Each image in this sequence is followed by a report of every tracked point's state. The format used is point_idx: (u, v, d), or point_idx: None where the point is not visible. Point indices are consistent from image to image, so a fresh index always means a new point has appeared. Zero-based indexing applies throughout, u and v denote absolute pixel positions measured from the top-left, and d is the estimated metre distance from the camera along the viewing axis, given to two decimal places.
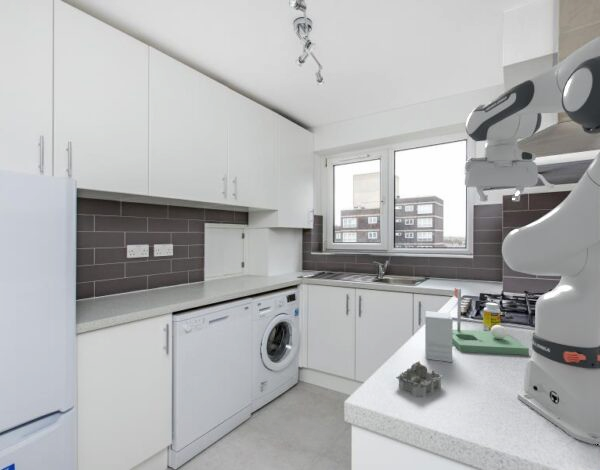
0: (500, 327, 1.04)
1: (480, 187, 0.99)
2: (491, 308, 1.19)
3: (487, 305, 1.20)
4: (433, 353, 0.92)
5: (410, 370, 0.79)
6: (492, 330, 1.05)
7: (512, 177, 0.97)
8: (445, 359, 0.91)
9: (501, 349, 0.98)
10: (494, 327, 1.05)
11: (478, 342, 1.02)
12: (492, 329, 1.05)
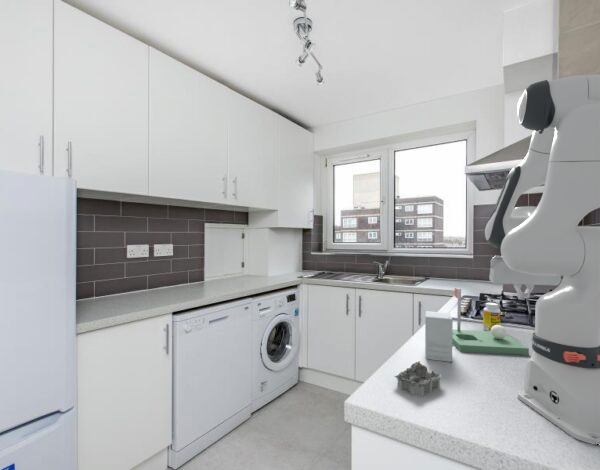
0: (500, 327, 1.04)
1: (518, 285, 1.03)
2: (491, 308, 1.19)
3: (487, 305, 1.20)
4: (433, 353, 0.92)
5: (409, 369, 0.80)
6: (492, 330, 1.05)
7: (536, 277, 1.02)
8: (445, 359, 0.91)
9: (501, 349, 0.98)
10: (494, 327, 1.05)
11: (478, 342, 1.02)
12: (492, 329, 1.05)
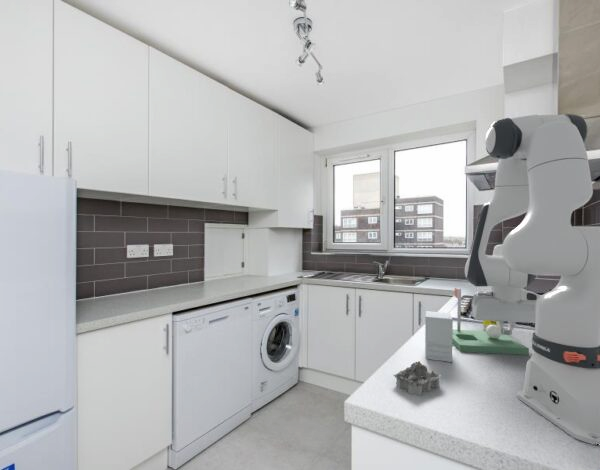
0: (491, 328, 1.04)
1: (500, 322, 1.04)
2: None
3: None
4: (433, 353, 0.92)
5: (409, 369, 0.80)
6: (487, 334, 1.05)
7: (518, 315, 1.03)
8: (445, 359, 0.91)
9: (501, 349, 0.98)
10: (487, 330, 1.05)
11: (478, 342, 1.02)
12: (487, 333, 1.05)
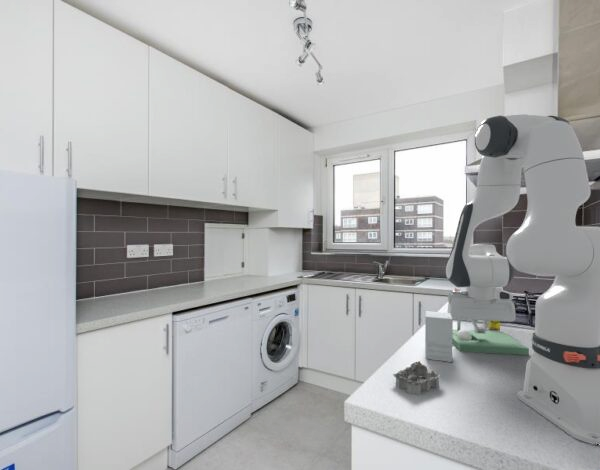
0: (470, 335, 1.05)
1: (474, 320, 1.05)
2: None
3: None
4: (433, 353, 0.92)
5: (409, 369, 0.80)
6: (463, 330, 1.06)
7: (491, 313, 1.04)
8: (445, 359, 0.91)
9: (501, 349, 0.98)
10: None
11: (478, 342, 1.02)
12: (464, 330, 1.06)
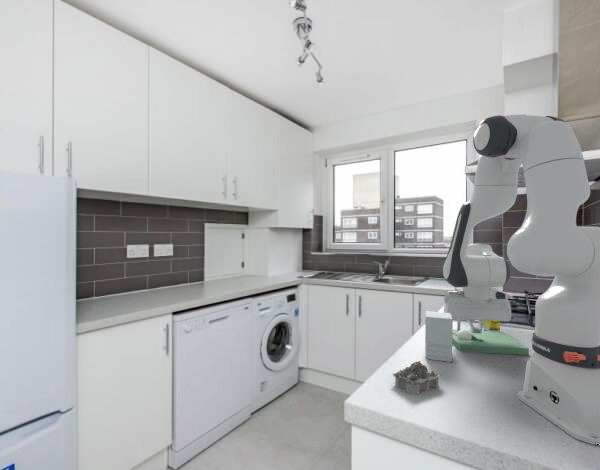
0: (471, 335, 1.05)
1: (470, 320, 1.05)
2: None
3: None
4: (433, 353, 0.92)
5: (409, 368, 0.80)
6: (464, 330, 1.06)
7: (487, 313, 1.04)
8: (445, 359, 0.91)
9: (501, 349, 0.98)
10: (467, 331, 1.06)
11: (478, 342, 1.02)
12: (464, 330, 1.06)
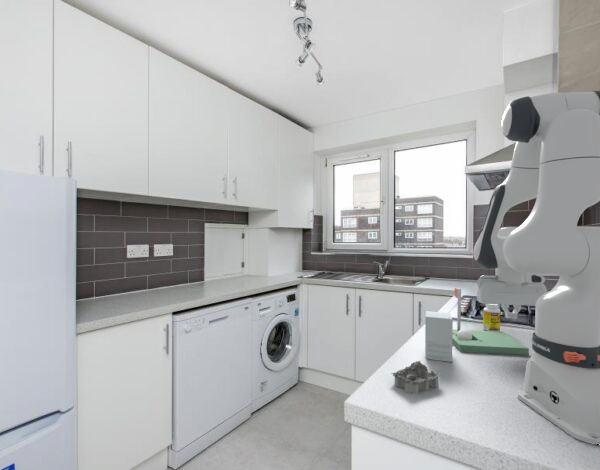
0: (471, 335, 1.05)
1: (505, 305, 1.03)
2: (491, 308, 1.19)
3: (487, 305, 1.20)
4: (433, 353, 0.92)
5: (408, 368, 0.81)
6: (464, 330, 1.06)
7: (523, 298, 1.02)
8: (445, 359, 0.91)
9: (501, 349, 0.98)
10: (468, 331, 1.06)
11: (478, 342, 1.02)
12: (465, 330, 1.06)
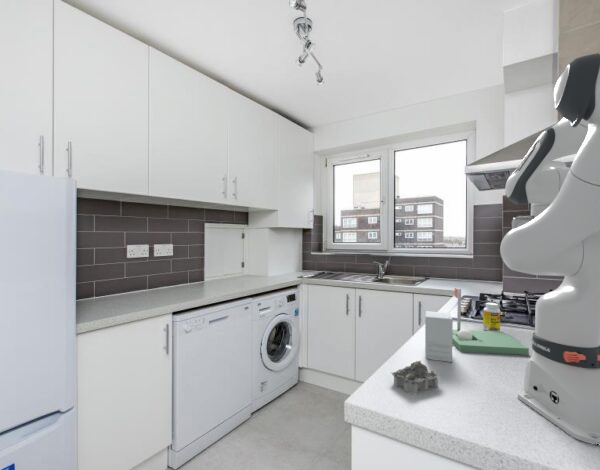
0: (471, 336, 1.05)
1: None
2: (491, 308, 1.19)
3: (487, 305, 1.20)
4: (433, 353, 0.92)
5: (408, 368, 0.81)
6: (464, 330, 1.06)
7: None
8: (445, 359, 0.91)
9: (501, 349, 0.98)
10: (468, 331, 1.06)
11: (478, 342, 1.02)
12: (465, 330, 1.06)
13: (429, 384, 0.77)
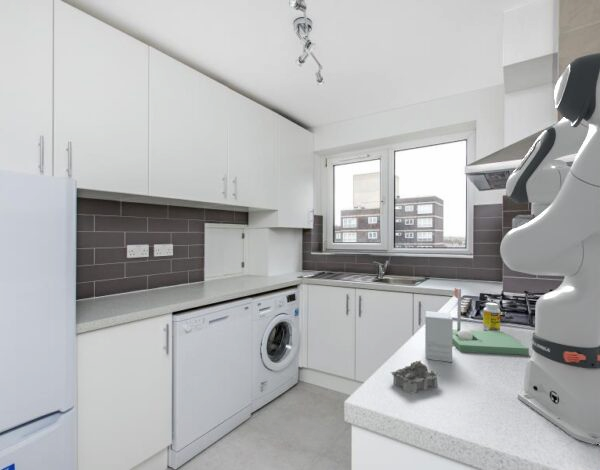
0: (472, 336, 1.05)
1: None
2: (491, 308, 1.19)
3: (487, 305, 1.20)
4: (433, 353, 0.92)
5: (408, 368, 0.81)
6: (465, 330, 1.06)
7: None
8: (445, 359, 0.91)
9: (501, 349, 0.98)
10: (469, 331, 1.06)
11: (478, 342, 1.02)
12: (466, 330, 1.06)
13: (429, 384, 0.77)
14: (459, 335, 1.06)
